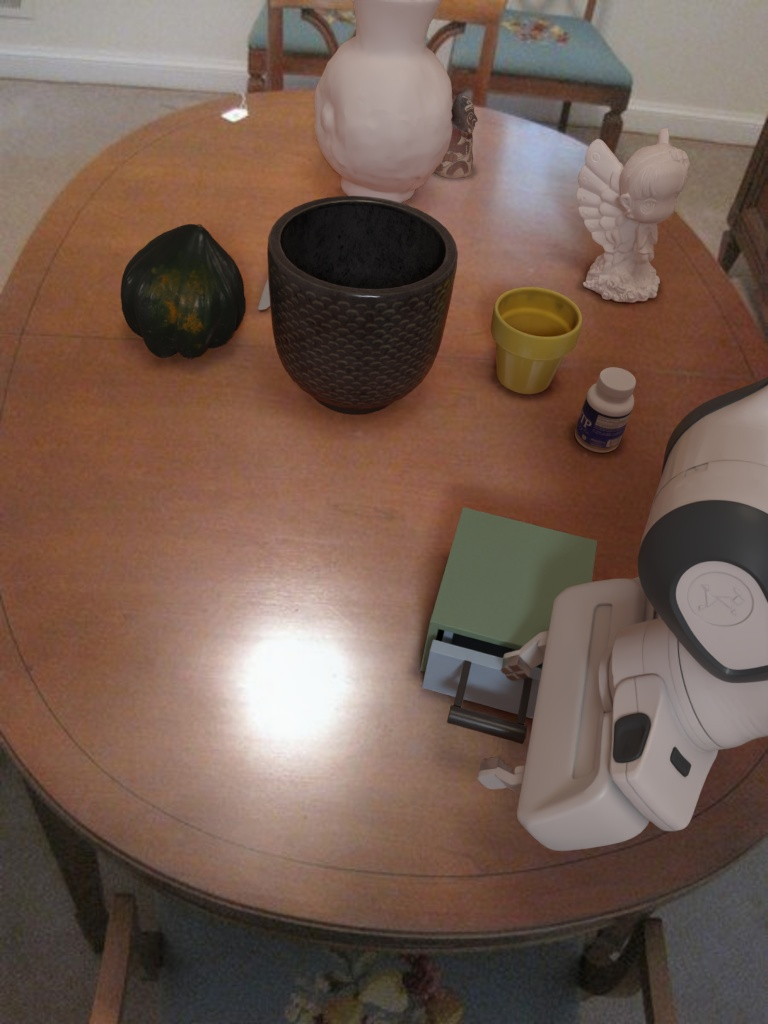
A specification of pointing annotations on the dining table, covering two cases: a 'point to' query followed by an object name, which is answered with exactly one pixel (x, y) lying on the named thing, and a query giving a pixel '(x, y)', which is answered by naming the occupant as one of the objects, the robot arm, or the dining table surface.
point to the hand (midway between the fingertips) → (495, 718)
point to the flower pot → (533, 336)
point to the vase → (385, 102)
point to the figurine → (459, 140)
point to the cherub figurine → (628, 214)
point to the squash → (183, 293)
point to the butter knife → (265, 298)
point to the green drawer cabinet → (505, 579)
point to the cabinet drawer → (481, 685)
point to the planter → (359, 298)
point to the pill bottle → (606, 410)
